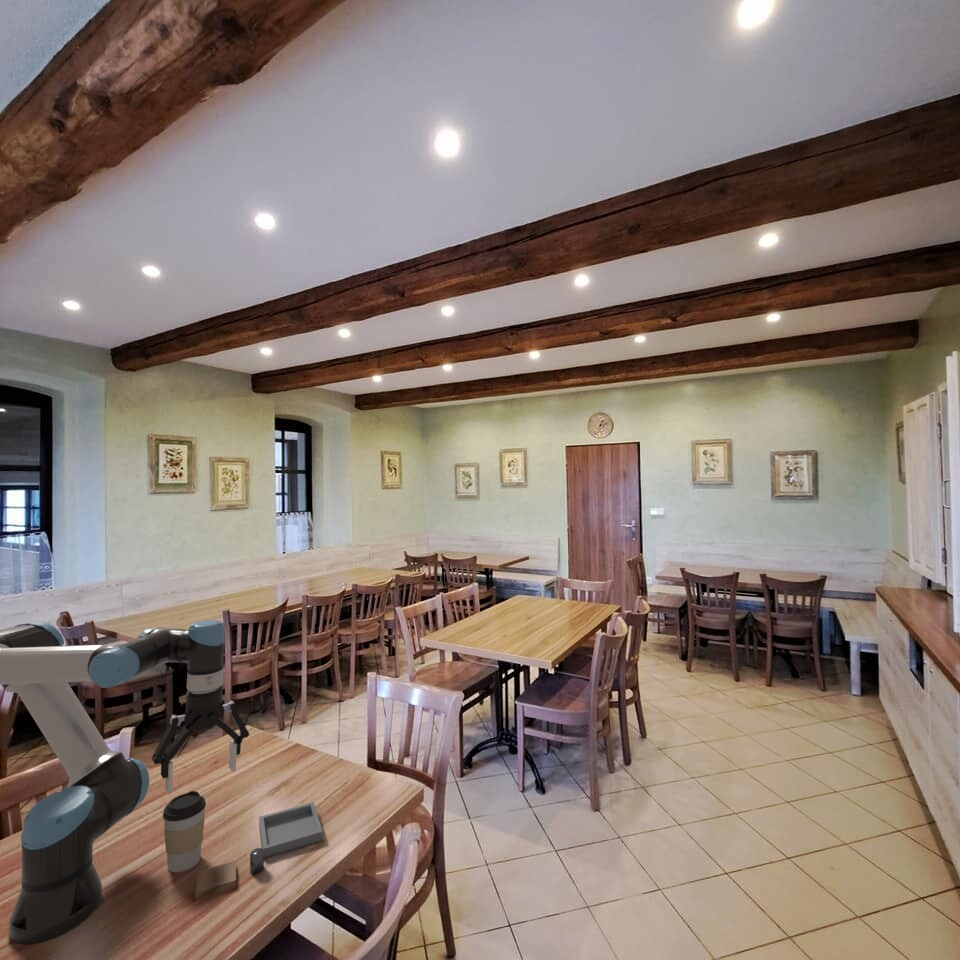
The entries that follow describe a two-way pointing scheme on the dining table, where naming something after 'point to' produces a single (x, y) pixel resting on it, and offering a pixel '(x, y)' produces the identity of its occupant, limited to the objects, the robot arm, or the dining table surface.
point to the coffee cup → (184, 830)
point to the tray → (290, 830)
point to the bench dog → (257, 861)
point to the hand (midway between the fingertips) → (201, 779)
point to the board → (215, 879)
